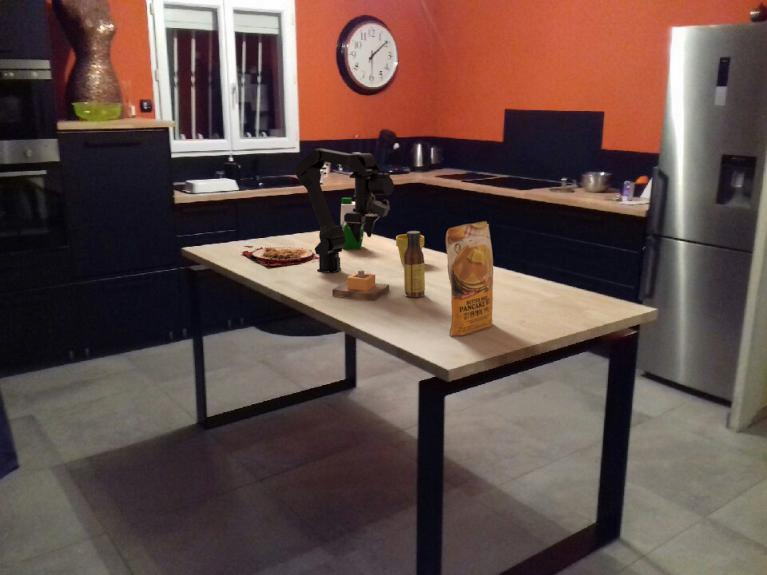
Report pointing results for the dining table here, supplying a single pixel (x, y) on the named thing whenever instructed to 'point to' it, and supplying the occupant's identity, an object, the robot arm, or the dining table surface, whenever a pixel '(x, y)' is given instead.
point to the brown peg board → (361, 294)
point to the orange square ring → (361, 282)
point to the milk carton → (349, 239)
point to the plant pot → (405, 244)
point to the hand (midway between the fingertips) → (363, 239)
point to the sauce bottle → (414, 267)
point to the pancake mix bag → (470, 277)
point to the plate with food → (281, 255)
